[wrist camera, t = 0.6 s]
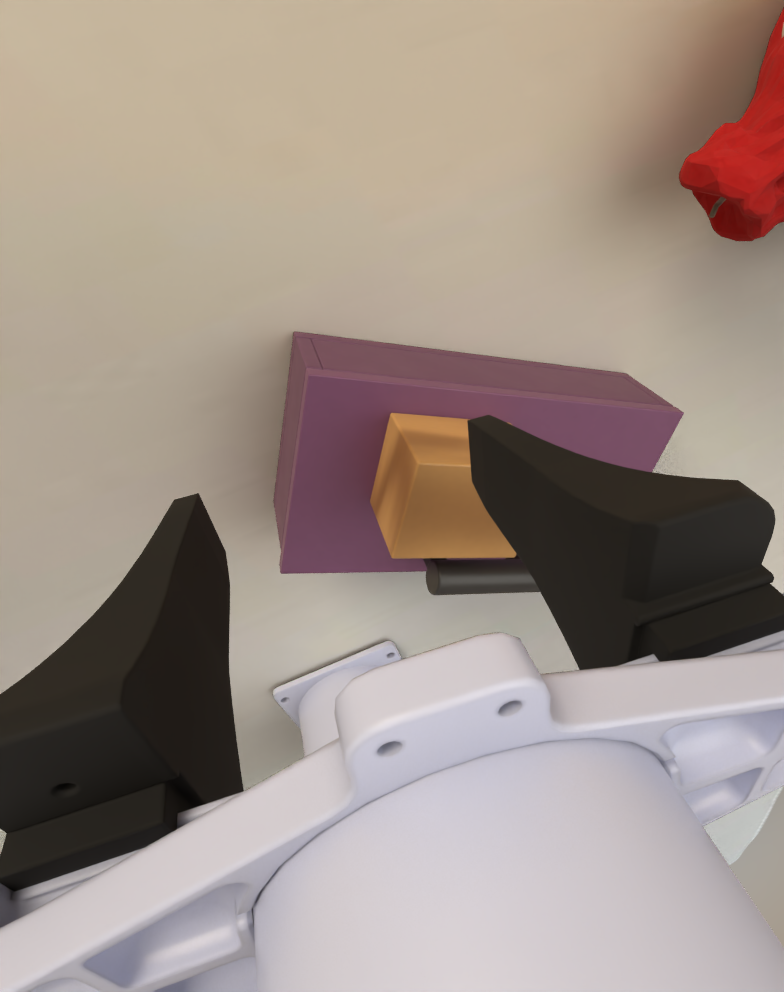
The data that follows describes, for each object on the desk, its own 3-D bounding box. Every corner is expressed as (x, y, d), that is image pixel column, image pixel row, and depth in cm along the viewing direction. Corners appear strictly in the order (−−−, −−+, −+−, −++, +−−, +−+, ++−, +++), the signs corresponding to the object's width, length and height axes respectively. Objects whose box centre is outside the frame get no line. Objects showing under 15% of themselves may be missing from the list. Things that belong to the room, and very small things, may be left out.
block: (480, 504, 24) (515, 558, 21) (368, 501, 22) (391, 560, 19) (511, 421, 22) (554, 469, 19) (390, 411, 20) (418, 462, 17)
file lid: (593, 561, 29) (634, 611, 26) (279, 564, 24) (288, 628, 21) (675, 406, 24) (736, 448, 21) (305, 367, 19) (322, 415, 16)
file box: (563, 509, 31) (598, 550, 29) (273, 501, 26) (280, 551, 23) (626, 373, 27) (674, 406, 24) (293, 330, 22) (305, 366, 19)
